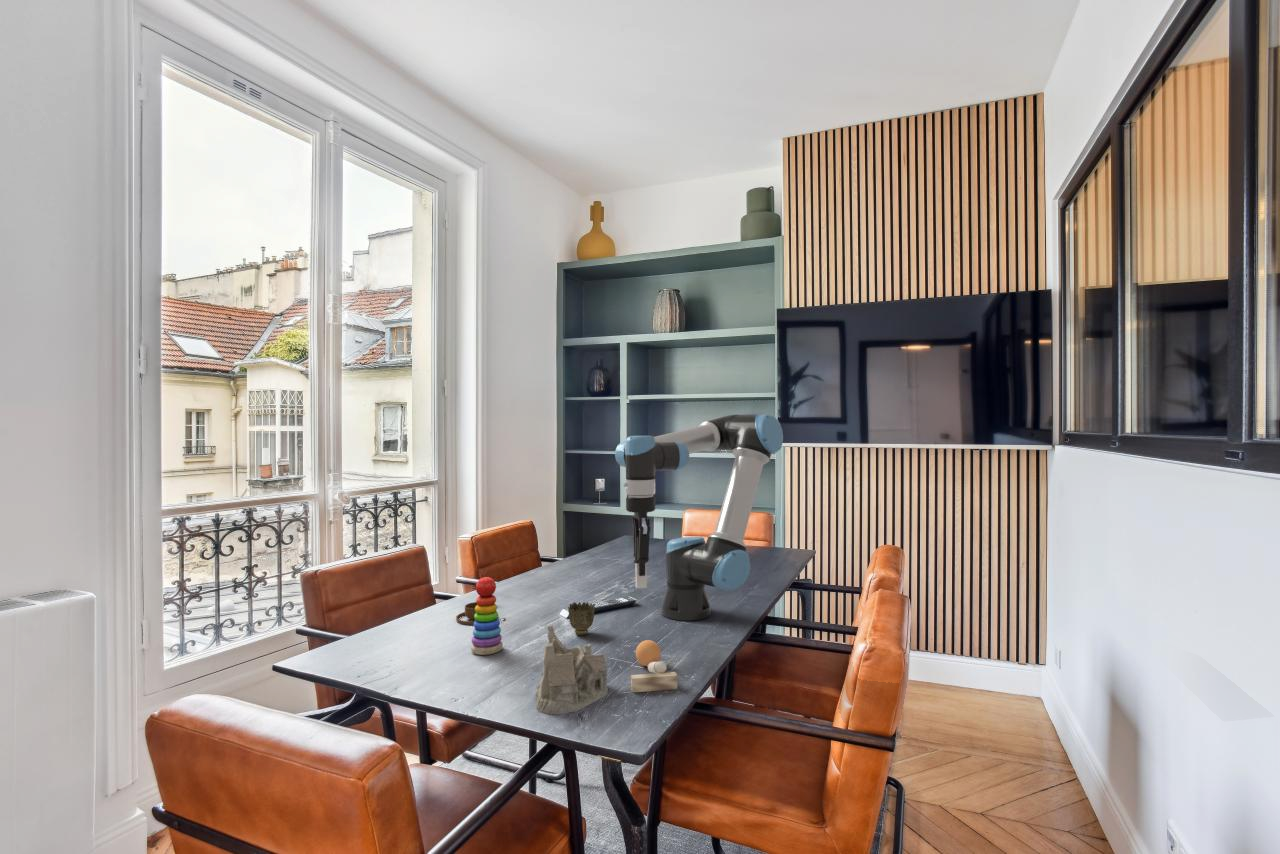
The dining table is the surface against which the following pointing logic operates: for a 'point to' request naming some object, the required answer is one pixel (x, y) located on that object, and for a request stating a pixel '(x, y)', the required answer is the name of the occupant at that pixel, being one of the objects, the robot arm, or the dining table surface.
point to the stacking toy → (486, 620)
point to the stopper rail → (653, 682)
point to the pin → (657, 667)
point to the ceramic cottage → (569, 677)
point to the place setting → (469, 614)
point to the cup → (581, 617)
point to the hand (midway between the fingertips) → (641, 587)
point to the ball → (648, 652)
